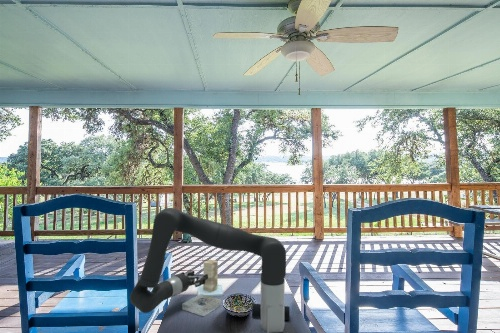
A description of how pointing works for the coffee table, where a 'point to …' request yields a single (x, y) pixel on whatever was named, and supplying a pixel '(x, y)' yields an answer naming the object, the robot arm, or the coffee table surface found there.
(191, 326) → the coffee table surface
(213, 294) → the pale blue plate
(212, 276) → the maple peg
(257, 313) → the pipe connector
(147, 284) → the robot arm
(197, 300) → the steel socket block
